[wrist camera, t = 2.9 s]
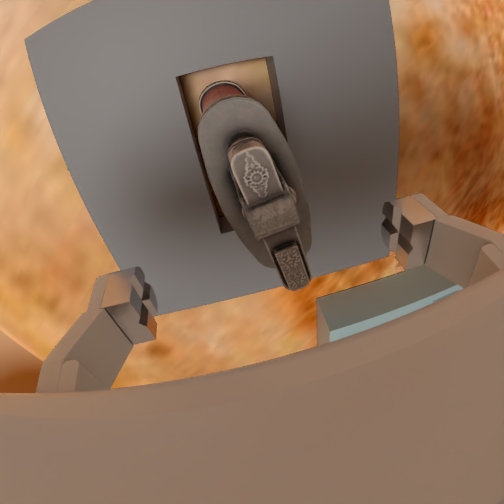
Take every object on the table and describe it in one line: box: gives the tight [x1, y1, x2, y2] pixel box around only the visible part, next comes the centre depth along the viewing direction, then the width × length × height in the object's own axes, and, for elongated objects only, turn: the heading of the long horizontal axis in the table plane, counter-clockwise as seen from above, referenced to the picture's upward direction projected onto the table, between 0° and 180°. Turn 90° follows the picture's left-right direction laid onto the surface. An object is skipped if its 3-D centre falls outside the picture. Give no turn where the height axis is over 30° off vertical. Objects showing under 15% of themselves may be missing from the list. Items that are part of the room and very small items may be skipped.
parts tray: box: [316, 264, 464, 346], centre depth 31 cm, size 16×18×4 cm
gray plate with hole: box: [25, 0, 399, 316], centre depth 16 cm, size 20×22×2 cm
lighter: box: [198, 81, 312, 291], centre depth 13 cm, size 8×3×10 cm, turn 21°
